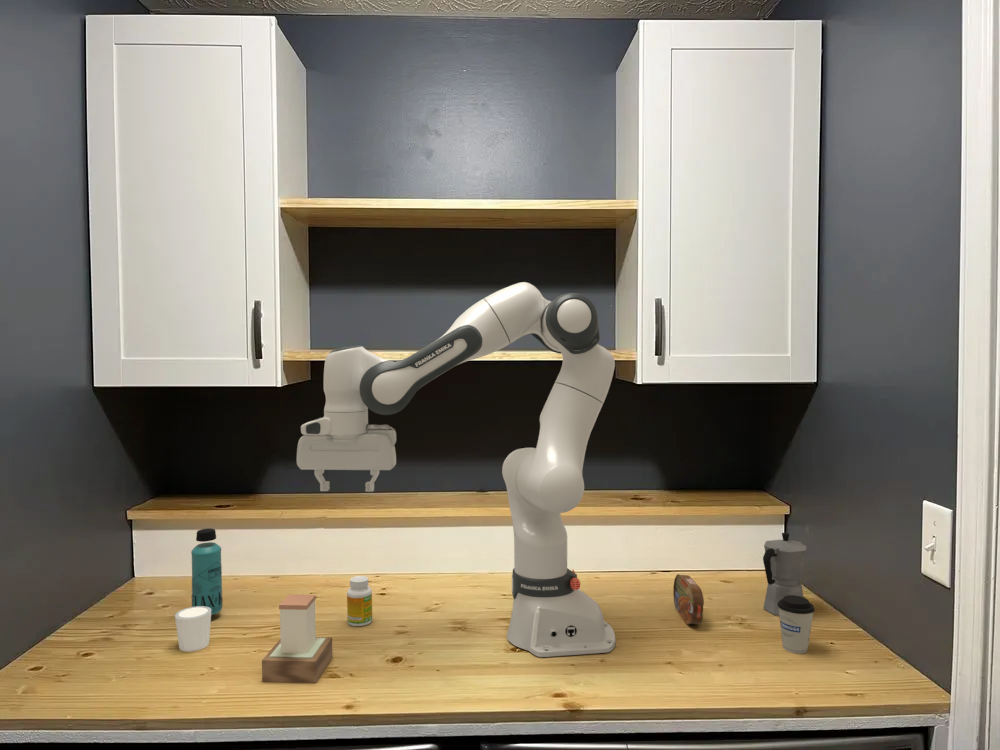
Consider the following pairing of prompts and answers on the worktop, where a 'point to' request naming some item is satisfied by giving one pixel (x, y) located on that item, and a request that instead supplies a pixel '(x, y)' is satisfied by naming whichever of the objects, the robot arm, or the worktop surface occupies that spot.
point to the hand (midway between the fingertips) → (347, 490)
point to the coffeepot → (783, 570)
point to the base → (297, 663)
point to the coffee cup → (795, 623)
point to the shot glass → (193, 628)
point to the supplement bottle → (359, 602)
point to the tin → (688, 599)
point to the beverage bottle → (207, 572)
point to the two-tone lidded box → (297, 623)
